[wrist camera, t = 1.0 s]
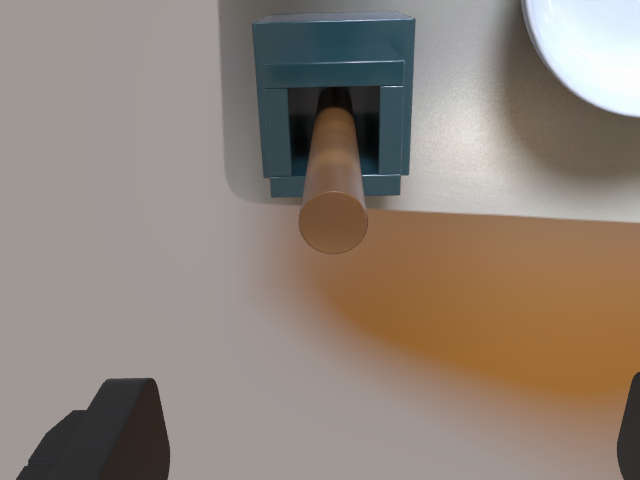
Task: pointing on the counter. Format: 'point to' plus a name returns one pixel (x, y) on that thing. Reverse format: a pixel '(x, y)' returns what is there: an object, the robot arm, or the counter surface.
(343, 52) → the utensil holder
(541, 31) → the serving bowl
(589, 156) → the counter surface
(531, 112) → the counter surface
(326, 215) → the stick
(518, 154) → the counter surface
